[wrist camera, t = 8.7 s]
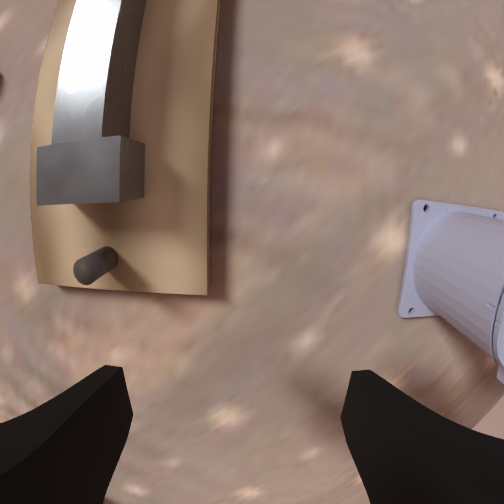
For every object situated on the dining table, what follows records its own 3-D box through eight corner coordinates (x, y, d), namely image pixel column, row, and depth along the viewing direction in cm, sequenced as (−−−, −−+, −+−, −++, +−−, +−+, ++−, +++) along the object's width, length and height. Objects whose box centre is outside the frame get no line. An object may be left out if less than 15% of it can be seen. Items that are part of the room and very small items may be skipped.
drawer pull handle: (178, -73, 11) (170, -101, 8) (144, 197, 16) (119, 202, 13) (116, -60, 11) (101, -84, 8) (70, 200, 16) (36, 205, 13)
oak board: (232, -96, 12) (230, -128, 7) (210, 286, 19) (199, 317, 14) (101, -74, 11) (84, -99, 7) (49, 277, 19) (12, 298, 14)
